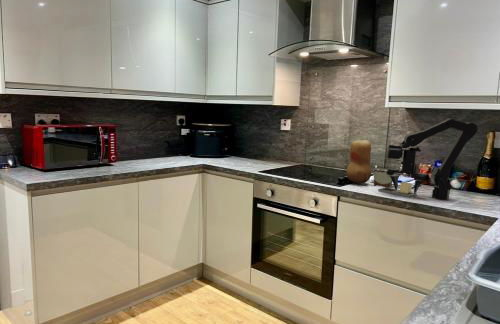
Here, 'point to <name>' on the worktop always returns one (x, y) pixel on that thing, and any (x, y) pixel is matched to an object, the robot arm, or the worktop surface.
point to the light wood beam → (405, 188)
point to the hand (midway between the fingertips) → (405, 191)
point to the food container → (382, 178)
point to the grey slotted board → (396, 192)
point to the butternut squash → (359, 162)
